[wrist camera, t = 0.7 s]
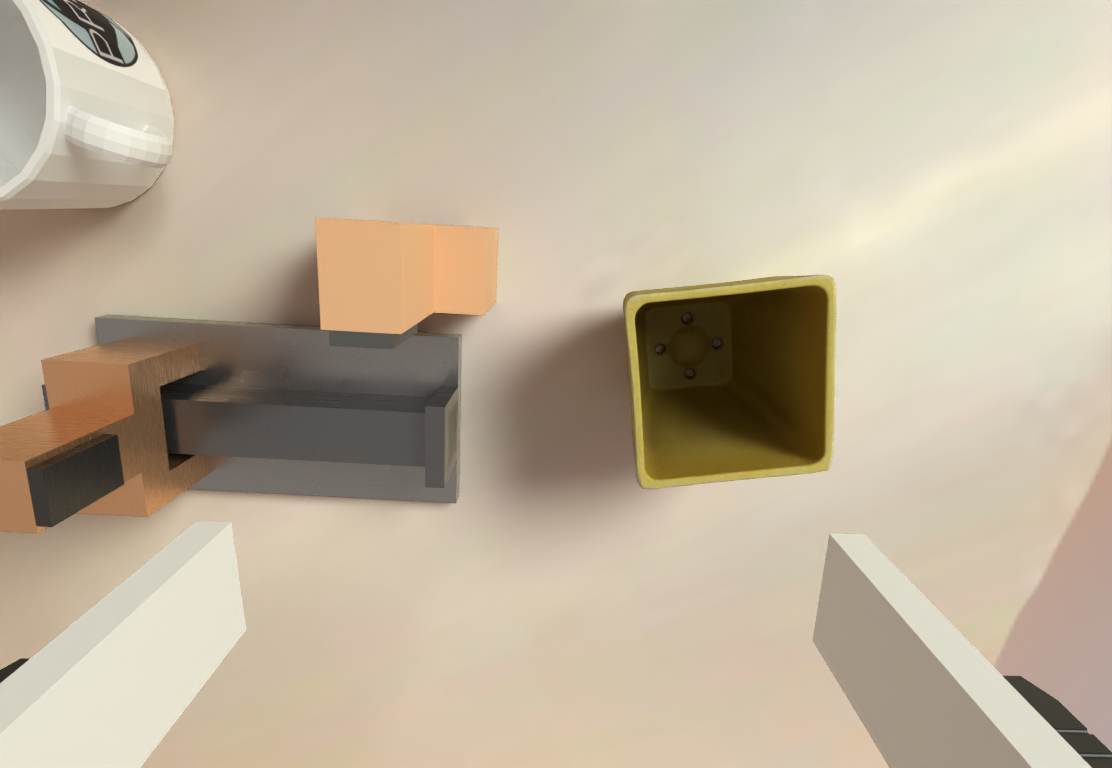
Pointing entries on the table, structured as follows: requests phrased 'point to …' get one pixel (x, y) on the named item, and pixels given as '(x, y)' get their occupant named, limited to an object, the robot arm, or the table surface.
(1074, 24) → the table surface
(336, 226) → the tan wooden arch block
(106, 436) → the rail base
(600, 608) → the table surface
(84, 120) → the mug
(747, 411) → the flower pot
